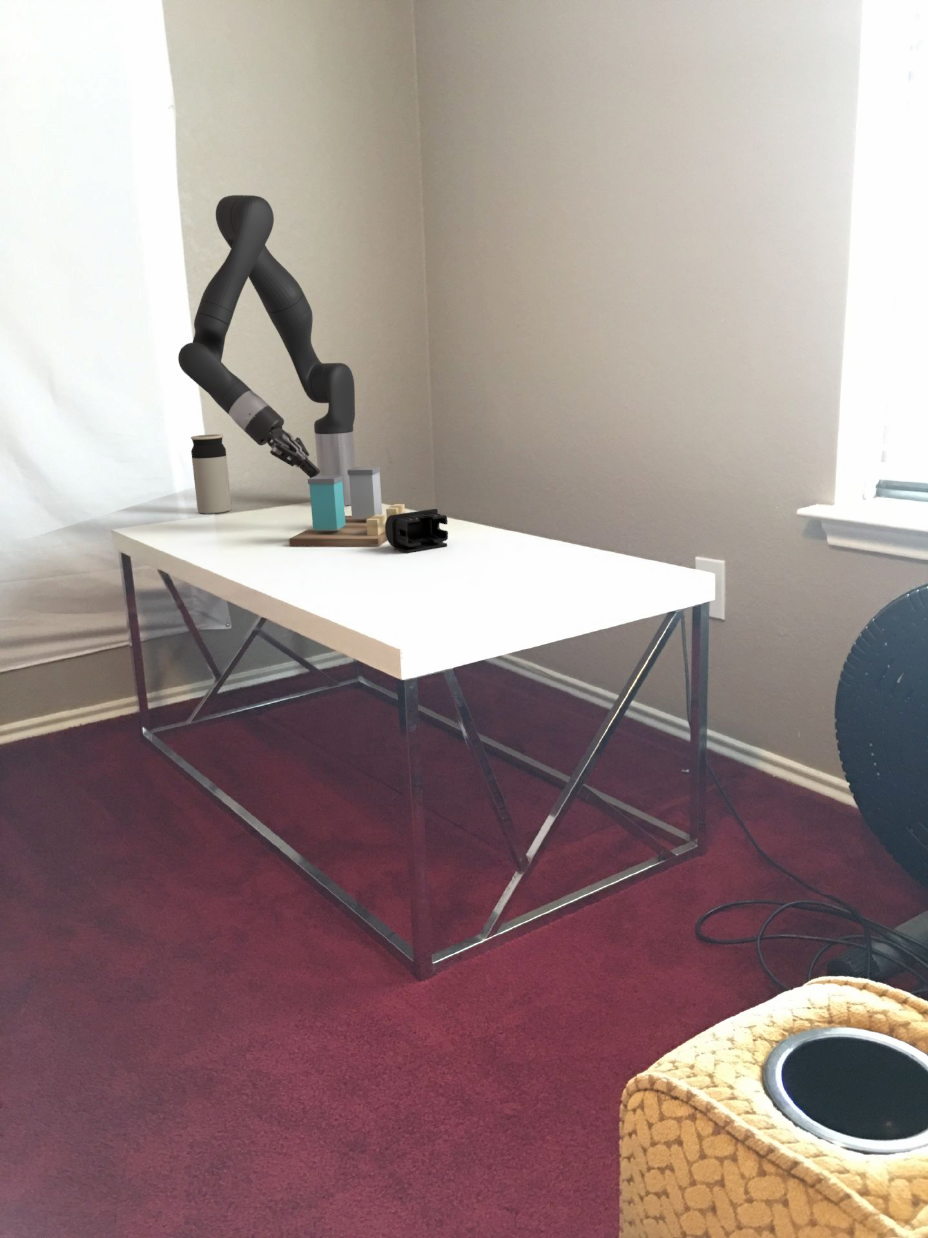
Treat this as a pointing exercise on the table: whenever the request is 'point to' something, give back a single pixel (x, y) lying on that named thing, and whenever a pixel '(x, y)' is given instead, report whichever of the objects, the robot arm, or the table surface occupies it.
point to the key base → (350, 532)
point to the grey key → (365, 491)
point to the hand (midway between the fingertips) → (316, 475)
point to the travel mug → (211, 474)
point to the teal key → (327, 502)
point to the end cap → (416, 531)
